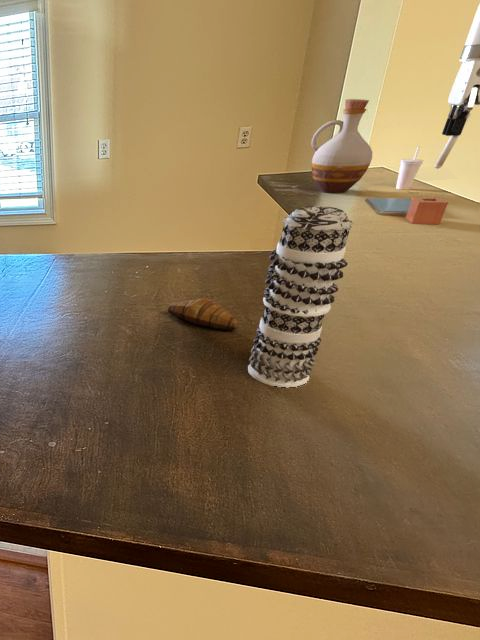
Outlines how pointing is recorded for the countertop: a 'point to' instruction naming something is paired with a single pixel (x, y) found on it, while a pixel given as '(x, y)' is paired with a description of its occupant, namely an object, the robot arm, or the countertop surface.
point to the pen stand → (426, 210)
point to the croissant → (204, 313)
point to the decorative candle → (299, 294)
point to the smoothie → (408, 172)
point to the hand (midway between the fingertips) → (451, 134)
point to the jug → (342, 152)
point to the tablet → (390, 205)
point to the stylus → (447, 149)
